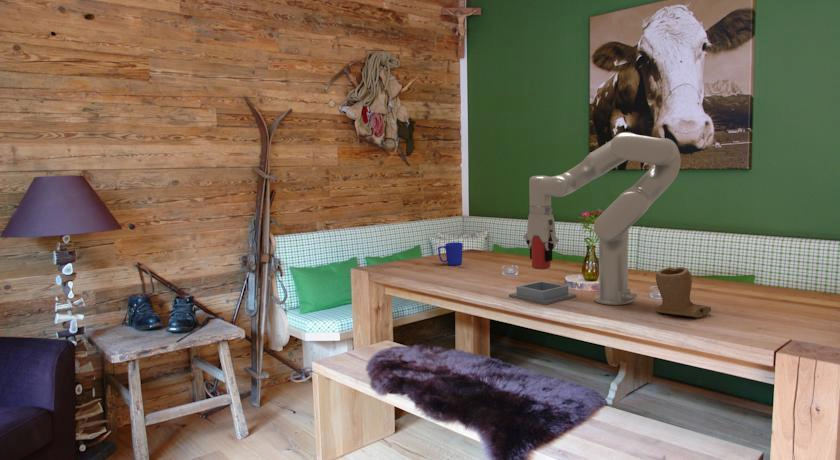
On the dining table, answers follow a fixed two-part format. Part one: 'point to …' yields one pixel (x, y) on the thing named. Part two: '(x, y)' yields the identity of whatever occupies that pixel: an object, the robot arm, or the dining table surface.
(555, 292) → the box
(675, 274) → the brown l-shaped piece
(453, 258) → the mug
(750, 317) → the dining table surface
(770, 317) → the dining table surface
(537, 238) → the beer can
